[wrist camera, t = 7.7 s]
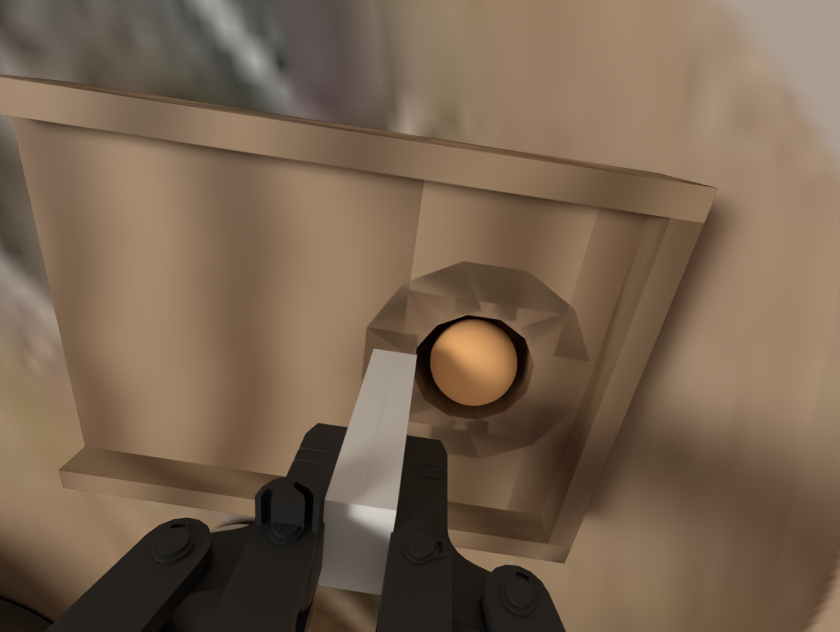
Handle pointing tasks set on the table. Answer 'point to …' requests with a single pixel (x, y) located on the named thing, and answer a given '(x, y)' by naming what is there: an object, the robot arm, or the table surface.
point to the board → (338, 297)
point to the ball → (473, 362)
